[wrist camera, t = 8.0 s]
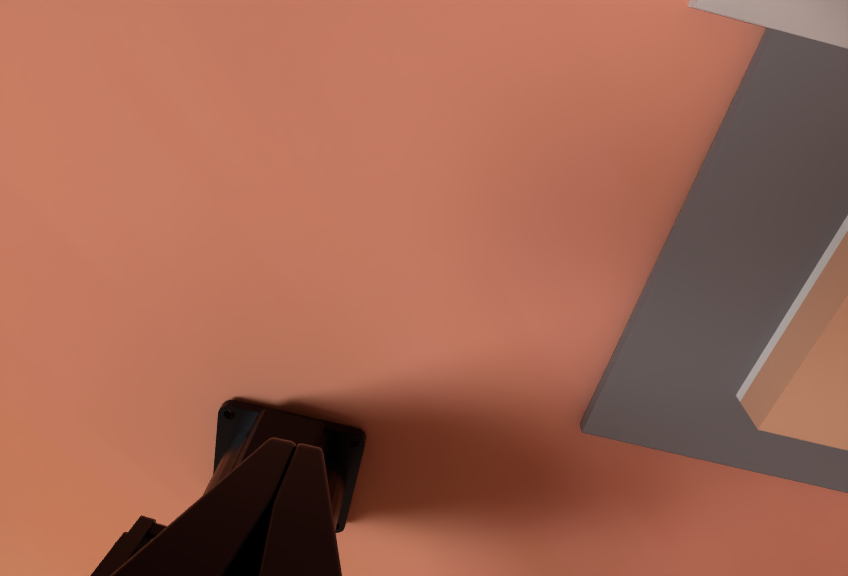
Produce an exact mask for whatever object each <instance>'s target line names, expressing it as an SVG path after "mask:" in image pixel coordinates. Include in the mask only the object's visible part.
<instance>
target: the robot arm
mask: <svg viewBox="0 0 848 576" xmlns="http://www.w3.org/2000/svg"><path fill="white" fill-rule="evenodd" d="M228 410H230V411H232V412H234V413H235V414H233V413H230V412H229V411H228ZM351 438H355V439H358V441H354V440H352V439H351ZM365 442H366V434H365V432H364V431H362V430H361V429H359V428H355V427H351V426H346V425H342V424H337V423H333V422H328V421H324V420H319V419H315V418H310V417H306V416H302V415H297V414H293V413H288V412H284V411H279V410H275V409H270V408H266V407H261V406H257V405H252V404H248V403H243V402H239V401H234V400H228V401H225V402H224V403H223V404H222V406H221V408H220V409H219V412H218V422H217V435H216V447H215V460H214V472H213V476H212V478H211V480H210V482H209V484H208V486H207V488H206V490H205V492H204V494H203V496H202V497H201V498H200V499H199V500H197V501H196V502H195V503H194V504H193V505H192V506H190V507H189V508H188V509H187V510H186V511H185V512H183V513H182V514H181V515H180V516H179V517H178V518H177V519H175V520H174V521H173V522H172V523H171V524H170V525H168V526H165V525H162V524H158V523H156V520H155V519H151V518H148V517H145V516H142V515H141V516H140V518H139V519H138V520H137V521H136V523H135V524H134V525H133V527H132V528H131V529H130V531H129V532H124V533H123V534H122V536H121V537H120V538H119V540H118V541H117V542H116V543H115V544H114V546H113V547H112V549H111V550H110V551H109V552H108V554H107V555H106V556H105V558H104V559H103V560H102V562H101V563H100V564H99V565H98V567H97V568H96V569H95V571H94V572H93V573H92V574H91V576H342V573H341V566H340V559H339V553H338V546H337V540H336V533H339V532H341V531H343V530H344V528H345V524H346V520H347V516H348V512H349V508H350V504H351V500H352V495H353V491H354V487H355V483H356V479H357V475H358V471H359V467H360V463H361V459H362V455H363V451H364V447H365Z"/></svg>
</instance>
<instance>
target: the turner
mask: <svg viewBox="0 0 848 576" xmlns="http://www.w3.org/2000/svg"><path fill="white" fill-rule="evenodd" d="M687 7H690V8H694V9H698V10H702V11H705V12H709V13H713V14H717V15H720V16H724V17H728V18H732V19H735V20H739V21H743V22H747V23H750V24H754V25H758V26H761V27H765V28H770V29H776V30H779V31H783V32H787V33H791V34H794V35H798V36H802V37H806V38H809V39H813V40H817V41H821V42H824V43H828V44H832V45H836V46H839V47H843V48H847V49H848V0H690V1H689V4H688V6H687Z"/></svg>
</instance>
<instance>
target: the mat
mask: <svg viewBox="0 0 848 576" xmlns="http://www.w3.org/2000/svg"><path fill="white" fill-rule="evenodd" d="M847 215H848V49H847V48H843V47H839V46H836V45H832V44H828V43H824V42H821V41H817V40H813V39H809V38H806V37H802V36H798V35H794V34H791V33H787V32H783V31H779V30H776V29H770V28H767V29H766V31H765V33H764V35H763V37H762V39H761V42H760V44H759V46H758V48H757V50H756V52H755V54H754V56H753V59H752V61H751V63H750V65H749V67H748V69H747V71H746V73H745V75H744V78H743V80H742V82H741V84H740V86H739V88H738V90H737V92H736V95H735V97H734V99H733V101H732V103H731V105H730V107H729V109H728V111H727V114H726V116H725V118H724V120H723V122H722V124H721V126H720V128H719V131H718V133H717V135H716V137H715V139H714V141H713V143H712V145H711V148H710V150H709V152H708V154H707V156H706V158H705V160H704V162H703V164H702V167H701V169H700V171H699V173H698V175H697V177H696V179H695V181H694V184H693V186H692V188H691V190H690V192H689V194H688V196H687V198H686V200H685V203H684V205H683V207H682V209H681V211H680V213H679V215H678V217H677V220H676V222H675V224H674V226H673V228H672V230H671V232H670V234H669V237H668V239H667V241H666V243H665V245H664V247H663V249H662V251H661V253H660V256H659V258H658V260H657V262H656V264H655V266H654V268H653V270H652V273H651V275H650V277H649V279H648V281H647V283H646V285H645V287H644V289H643V292H642V294H641V296H640V298H639V300H638V302H637V304H636V306H635V309H634V311H633V313H632V315H631V317H630V319H629V321H628V323H627V326H626V328H625V330H624V332H623V334H622V336H621V338H620V340H619V342H618V345H617V347H616V349H615V351H614V353H613V355H612V357H611V359H610V362H609V364H608V366H607V368H606V370H605V372H604V374H603V376H602V378H601V381H600V383H599V385H598V387H597V389H596V391H595V393H594V395H593V398H592V400H591V402H590V404H589V406H588V408H587V410H586V412H585V415H584V417H583V419H582V421H581V423H580V427H581V431H582V433H587V434H591V435H595V436H600V437H604V438H609V439H613V440H617V441H622V442H626V443H631V444H635V445H639V446H644V447H648V448H652V449H657V450H661V451H666V452H670V453H674V454H679V455H683V456H688V457H692V458H696V459H701V460H705V461H710V462H714V463H718V464H723V465H727V466H732V467H736V468H740V469H745V470H749V471H753V472H758V473H762V474H767V475H771V476H775V477H780V478H784V479H789V480H793V481H797V482H802V483H806V484H811V485H815V486H819V487H824V488H828V489H832V490H837V491H841V492H846V493H848V450H843V449H839V448H835V447H831V446H826V445H822V444H818V443H813V442H809V441H805V440H800V439H796V438H792V437H787V436H783V435H779V434H774V433H770V432H766V431H761V430H758V429H757V428H756V426H755V425H754V423H753V421H752V420H751V418H750V417H749V415H748V414H747V412H746V411H745V409H744V407H743V406H742V404H741V403H740V401H739V400H738V398H737V397H736V394H737V393H738V391H739V389H740V388H741V386H742V385H743V383H744V381H745V380H746V378H747V377H748V375H749V373H750V372H751V370H752V368H753V367H754V365H755V364H756V362H757V360H758V359H759V357H760V356H761V354H762V352H763V351H764V349H765V348H766V346H767V344H768V343H769V341H770V339H771V338H772V336H773V335H774V333H775V331H776V330H777V328H778V327H779V325H780V323H781V322H782V320H783V319H784V317H785V315H786V314H787V312H788V310H789V309H790V307H791V306H792V304H793V302H794V301H795V299H796V298H797V296H798V294H799V293H800V291H801V290H802V288H803V286H804V285H805V283H806V281H807V280H808V278H809V277H810V275H811V273H812V272H813V270H814V269H815V267H816V265H817V264H818V262H819V261H820V259H821V257H822V256H823V254H824V252H825V251H826V249H827V248H828V246H829V244H830V243H831V241H832V240H833V238H834V236H835V235H836V233H837V232H838V230H839V228H840V227H841V225H842V223H843V222H844V220H845V219H846V217H847Z"/></svg>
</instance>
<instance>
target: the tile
mask: <svg viewBox="0 0 848 576" xmlns="http://www.w3.org/2000/svg"><path fill="white" fill-rule="evenodd" d="M736 397H737V398H738V400H739V401H740V403H741V404H742V406H743V407H744V409H745V411H746V412H747V414H748V415H749V417H750V418H751V420H752V421H753V423H754V425H755V426H756V428H757V429H758V430H761V431H766V432H770V433H774V434H779V435H783V436H787V437H792V438H796V439H800V440H805V441H809V442H813V443H818V444H822V445H826V446H831V447H835V448H839V449H843V450H848V215H847V217H846V219H845V220H844V222H843V223H842V225H841V227H840V228H839V230H838V232H837V233H836V235H835V236H834V238H833V240H832V241H831V243H830V244H829V246H828V248H827V249H826V251H825V252H824V254H823V256H822V257H821V259H820V261H819V262H818V264H817V265H816V267H815V269H814V270H813V272H812V273H811V275H810V277H809V278H808V280H807V281H806V283H805V285H804V286H803V288H802V290H801V291H800V293H799V294H798V296H797V298H796V299H795V301H794V302H793V304H792V306H791V307H790V309H789V310H788V312H787V314H786V315H785V317H784V319H783V320H782V322H781V323H780V325H779V327H778V328H777V330H776V331H775V333H774V335H773V336H772V338H771V339H770V341H769V343H768V344H767V346H766V348H765V349H764V351H763V352H762V354H761V356H760V357H759V359H758V360H757V362H756V364H755V365H754V367H753V368H752V370H751V372H750V373H749V375H748V377H747V378H746V380H745V381H744V383H743V385H742V386H741V388H740V389H739V391H738V393H737V394H736Z"/></svg>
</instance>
